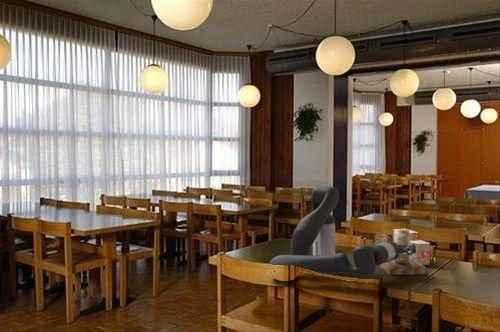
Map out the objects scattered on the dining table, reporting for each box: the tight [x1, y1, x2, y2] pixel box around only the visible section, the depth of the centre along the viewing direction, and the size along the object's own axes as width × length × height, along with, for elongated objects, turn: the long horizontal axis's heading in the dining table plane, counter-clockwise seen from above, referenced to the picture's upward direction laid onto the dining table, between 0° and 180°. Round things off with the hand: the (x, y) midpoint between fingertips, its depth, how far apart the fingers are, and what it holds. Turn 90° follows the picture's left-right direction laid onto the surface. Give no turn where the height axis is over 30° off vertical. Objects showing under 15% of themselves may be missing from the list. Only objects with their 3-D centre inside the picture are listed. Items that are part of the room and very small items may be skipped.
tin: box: [372, 232, 393, 247], centre depth 227 cm, size 15×3×8 cm, turn 13°
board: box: [379, 260, 426, 276], centre depth 191 cm, size 14×12×3 cm
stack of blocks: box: [392, 228, 431, 266], centre depth 210 cm, size 21×6×12 cm, turn 10°
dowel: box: [394, 228, 410, 265], centre depth 190 cm, size 6×6×16 cm
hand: (404, 245), depth 192 cm, fingers open, 8 cm apart
